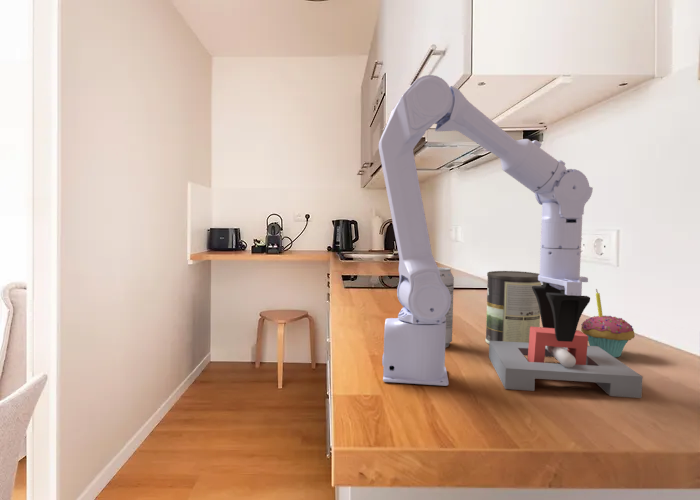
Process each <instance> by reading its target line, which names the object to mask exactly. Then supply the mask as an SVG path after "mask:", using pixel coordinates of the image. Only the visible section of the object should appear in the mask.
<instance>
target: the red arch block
mask: <svg viewBox="0 0 700 500" xmlns="http://www.w3.org/2000/svg"><path fill="white" fill-rule="evenodd" d="M545 346H554V347H565V348H568V350H567V351H568V352H569V353H570V354H571V355H573V356H574V357H575V359H576V363H575V365H586V357H587V346H589V342H588V336H587V335H585V334H584V333H583V332H582V331H581V330H577V329H576V332H575V335H574V338H573V341H572V342H567V341H557V339H556V335H555V329H554V328H543V326H541V327H531V326H530V334H529V347H528V355H527V360H528V362H540V363H545V358H546V356H545Z"/></svg>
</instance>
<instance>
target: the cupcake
mask: <svg viewBox="0 0 700 500" xmlns="http://www.w3.org/2000/svg"><path fill="white" fill-rule="evenodd" d="M595 291H596V292H595V299H596V307H597V313H598V315H597V316H595V315H594V316H590V317H589V318H587V319H586V318H585V320H583V322H582V323H581V328H580V329H581V330H580V331H581V332H582V333H584V334H585V335H587V336H588V346H598V347H600V348H601V349H603V350H604V351H606V352H607V353H609V354H610V355H612V356H613V357H615V358H619V357H621V356H622V353H623V351H624V348H625V346H626V344H627V343H628V342H629V341H631V340H632V339H635V330H634V328H633V325H631V324H630V323H628V321H627V320H625V319H623V318H622V317H616V316H611V315H603V309H602V302H601V301H602V300H601V294H600V293H599V292H598V289H597V288H595Z"/></svg>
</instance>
